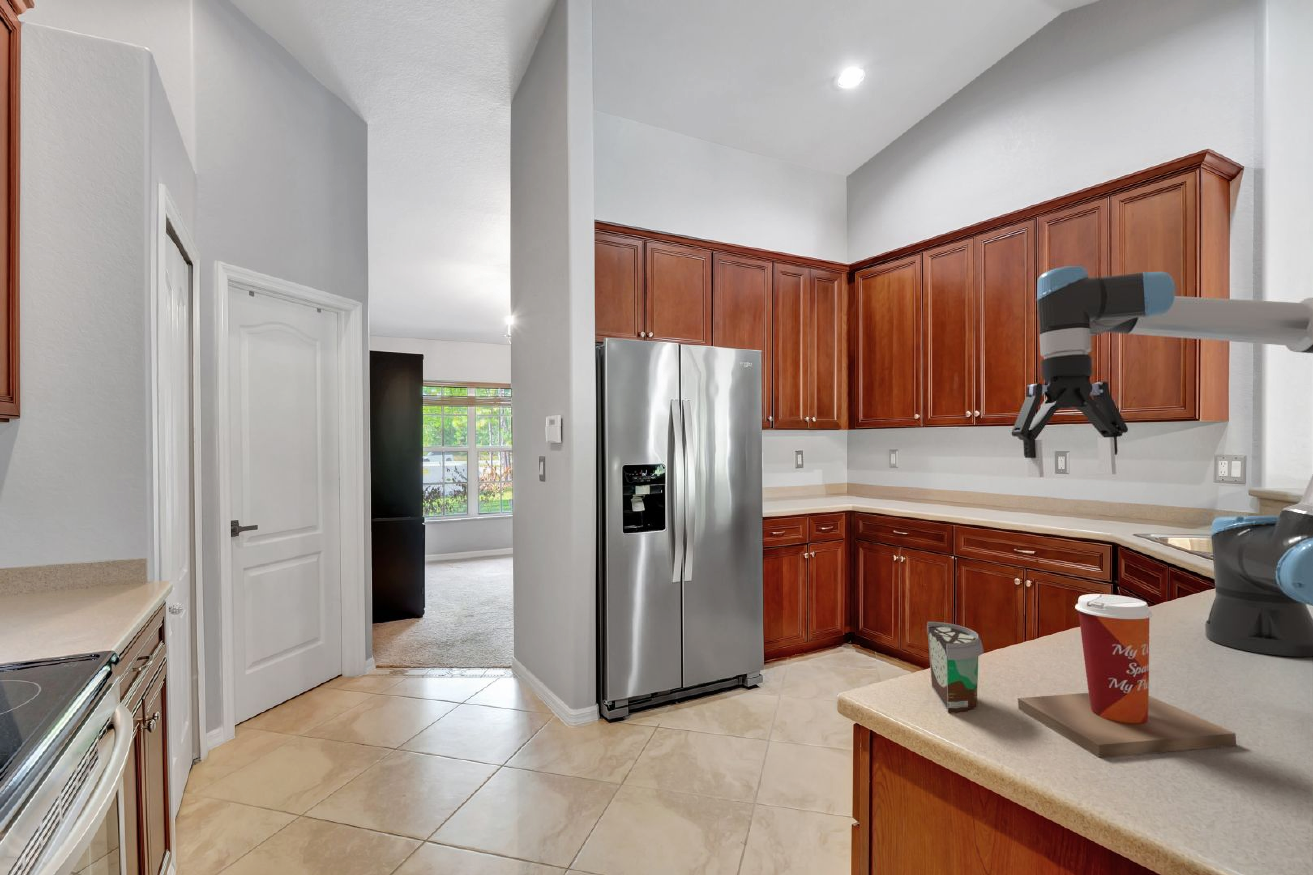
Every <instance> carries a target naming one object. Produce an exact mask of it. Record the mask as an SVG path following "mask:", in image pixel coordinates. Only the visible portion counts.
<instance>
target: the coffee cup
mask: <svg viewBox="0 0 1313 875" xmlns="http://www.w3.org/2000/svg"><path fill="white" fill-rule="evenodd" d="M1077 602H1078V603H1076V604H1075V606H1074V607H1075V610H1077V612H1078V618H1079V619H1078V620H1079V626H1080V634H1081V643H1082V651H1083V659H1084V666H1085V674H1086V681H1087V691H1088V693H1089V698H1090V705H1091V709H1092V712H1093V713H1095V714H1096V715H1098V716H1100V717H1102V718H1105V719H1107V720H1111V721H1115V722H1119V723H1126V724H1141V723H1145V722H1146V721H1147V719H1148V700H1149V696H1150V695H1149V692H1150V691H1149V690H1150V684H1149V683H1150V618H1152V617H1153V615H1154V614H1153V612H1152V611H1151V610H1150V609H1149V605H1148V603H1147V602H1146V601H1144V600H1142V599H1138V598H1137V597H1136V598H1134V597H1131V596H1124V595H1118V594H1117V595H1116V594H1108V593H1107V594H1106V593H1105V594H1103V593H1089V594H1082V595H1080V596H1079V597H1078V600H1077Z"/></svg>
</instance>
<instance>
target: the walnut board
mask: <svg viewBox="0 0 1313 875" xmlns="http://www.w3.org/2000/svg"><path fill="white" fill-rule="evenodd" d="M1017 706H1018V710H1019V711H1021V712H1023V713H1025V714H1027V716H1029V717H1031V718H1033V719H1034V720H1036V721H1038V722H1040V723H1041V724H1042V725H1044V726H1046V727H1048V728H1050V730H1053V731H1055V732H1056V733H1058V734H1059V735H1061V736H1062V737H1064V738H1066V739H1068V740H1070V741H1071V742H1072V743H1074V744H1076V745H1078V746H1080V747H1081V748H1083V749H1084V750H1086V751H1088V752H1090V754H1091V753H1092V755H1094V756H1096V757H1098V758H1107V757H1108V758H1109V757H1120V756H1121V757H1122V756H1130V755H1131V756H1133V755H1132V754H1134V755H1144V754H1143V753H1146V754H1154V753H1155V754H1156V753H1157V752H1158V753H1166V752H1165V751H1170V752H1180V751H1179V750H1181V751H1189V750H1190V749H1193V750H1202V749H1203V750H1206V749H1212V748H1213V749H1215V748H1224V747H1225V748H1227V747H1237V740H1236V739H1237V737H1236V732H1233V731H1232V730H1229V729H1226V728H1224V727H1221V726H1220V725H1217V724H1215V723H1213V722H1211V721H1208V720H1206V719H1203V718H1201V717H1200V716H1197V715H1194V714H1192V713H1190V712H1187V711H1185V710H1183V709H1181V708H1178V707H1176V706H1174V705H1172V704H1169V703H1167V702H1164V701H1162V700H1160V699H1157V698H1155V697H1153V696H1151V695H1149V700H1148V719H1147V721H1146V722H1145V723H1141V724H1126V723H1119V722H1115V721H1111V720H1107V719H1105V718H1102V717H1100V716H1098V715H1096V714H1095V713H1093V712H1092V709H1091V705H1090V698H1089V692H1083V693H1068V694H1057V695H1055V694H1054V695H1043V696H1042V695H1040V696H1030V697H1029V696H1028V697H1018V698H1017ZM1190 751H1191V750H1190ZM1141 753H1142V754H1141Z"/></svg>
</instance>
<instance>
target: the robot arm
mask: <svg viewBox="0 0 1313 875" xmlns="http://www.w3.org/2000/svg"><path fill="white" fill-rule="evenodd" d="M1174 282H1175V281H1174V279H1173V277H1172V276H1171V275H1170V273H1168V272H1165V271H1142V272H1137V273H1129V274H1122V275H1121V274H1119V275H1111V276H1109V275H1108V276H1101V277H1089V274H1088V271H1087V269H1086V267H1084V266H1081V265H1078V266H1077V265H1076V266H1073V265H1072V266H1063V267H1058V268H1054V269H1051V270H1048V271H1045V272H1044V273H1042V274H1041V275H1040V276H1039V277H1038V279H1037V284H1036V286H1037V288H1036V290H1037V291H1036V292H1037V293H1036V296H1037V297H1036V302H1037V303H1036V304H1037V314H1038V326H1039V327H1038V328H1039V351H1040V357H1042V358H1043V359H1041V361H1040V370H1041V379H1042V380H1043V384H1042V383H1041V382H1037V383H1033V384H1032V383H1031V384H1028V385H1027V386H1026V390H1025V391H1026V394H1025V399H1024V401H1023V404H1022V405H1021V406H1022V407H1021V408H1020V411H1019V413H1018V416H1017V418H1016V421H1015V423H1014V425H1013V428H1012V430H1011V436H1012V437H1014V438H1015V437H1017V438H1018V439H1019V440H1020V441H1022V444H1023V456H1024V458H1025V459H1027V470H1028V473H1027V474H1028V477H1030V478H1044V460H1043V459H1044V458H1043V443H1042V441H1043V440H1042V439H1037V438H1038V436H1039V435H1040V434H1041V432H1042V431H1043V430H1044V428H1045V427H1046V426H1047V425H1048V423H1049V421H1050V420H1051V419H1052V417H1053V416H1054V415H1055V414H1056V413H1057V411H1058V410H1060V409H1076V410H1077V411H1079V412H1081V413H1082V415H1083V416H1084V417H1086V419H1087V420H1088V422H1090V424H1091V425H1092V426H1093V427H1094V429H1096V431H1097V432H1098V433H1099V434H1100V435H1101V437H1097V439H1096V440H1097V456H1098V457H1097V458H1098V470H1099V475H1100V474H1101V475H1116V474H1117V471H1116V469H1117V468H1116V456H1117V455H1118V437H1119V438H1120V437H1122V436H1123V434H1126V433H1128V431H1129V427H1128V426H1127V424H1126V422H1125V420H1124V417H1123V416H1122V414H1121V412H1120V410H1119V408H1118V407H1117V405H1116V403H1115V401H1114V399H1113V397H1112V396H1111V393H1110V388H1109V387H1110V386H1109V384H1108V381H1099V382H1093V383H1091V380H1090V378H1091V376H1092V375H1093V361H1092V360H1093V359H1092V358H1093V356H1092V355H1090V354H1088V353H1090V352H1092V341H1091V336H1095V335H1096V336H1097V335H1102V334H1103V333H1106V334H1107V333H1108V334H1110V333H1111V334H1127V335H1140V336H1141V335H1142V336H1153V337H1155V336H1156V337H1166V338H1183V339H1193V340H1196V339H1197V340H1207V341H1208V340H1209V341H1221V342H1222V341H1223V342H1234V343H1236V342H1237V343H1250V344H1259V345H1260V344H1262V345H1275V346H1277V345H1278V346H1285V347H1286V348H1287V349H1288V350H1289V351H1291V352H1294V353H1305V354H1306V353H1307V354H1313V297H1308V298H1307V297H1306V298H1304V299H1303V300H1300V301H1299V302H1289V301H1288V302H1287V301H1273V300H1272V301H1271V300H1253V299H1238V298H1237V299H1235V298H1234V299H1233V298H1232V299H1231V298H1215V297H1213V298H1212V297H1200V296H1199V297H1197V296H1196V297H1195V296H1181V295H1176V287H1175V283H1174ZM1043 395H1044V396H1045V399H1044V401H1042V403H1041V400H1042V397H1043ZM1091 395H1092V396H1091ZM1039 406H1040V409H1039ZM1038 409H1039V410H1038ZM1210 538H1211V546H1212V547H1211V548H1212V557H1213V558H1212V560H1213V572H1214V573H1213V574H1214V587H1215V597H1214V600H1213V602H1212V606H1211V608H1210V611H1209V613H1208V614H1209V615H1208V619H1207V620H1206V621H1205V625H1204V629H1205V637H1206V638H1207V639H1208V640H1210V641H1212V642H1214V643H1217V644H1220V645H1223V646H1226V647H1229V648H1234V649H1238V650H1241V651H1246V652H1251V653H1252V652H1253V653H1258V654H1266V655H1273V656H1283V657H1313V617H1312V615H1311V612H1310V610H1309V608H1308V606H1313V474H1312V475H1311V477H1310V480H1309V481H1308V483H1307V486H1306V488H1305V490H1304V493H1303V494H1302V497H1301V500H1300V501H1299V502H1298V503H1296V504H1293V505H1289V506H1287V507H1284V508H1282V510H1281V512H1280V513H1279V515H1248V516H1247V515H1246V516H1245V515H1243V516H1237V515H1236V516H1219V517H1216V518H1215V519H1213V521H1212V523H1211V533H1210Z"/></svg>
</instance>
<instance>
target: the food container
mask: <svg viewBox="0 0 1313 875" xmlns="http://www.w3.org/2000/svg"><path fill="white" fill-rule="evenodd" d="M926 624H927V625H926V634H927V638H928V653H929V665H930V668H929V669H930V682H931V689H932V690H933V692H934V693H935V695H936V697H937V698H938V700H939V701H940V703H941V705H942V706H943V708H944V709H945V711H946V712H947V714H961V713H968V712H971V711H973V710H975V709H976V708H977V707H978V683H979V681H978V680H979V679H978V678H979V657H980V656H982V655H983V654H984V652H985V651H984V647H983V643H982V640H981V638H980V637H979V634H978V633H977V632H976V631H974V630H972V629H971V628H967V627H964V626H961V625H957V624H954V623H948V622H937V621H927V623H926Z"/></svg>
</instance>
